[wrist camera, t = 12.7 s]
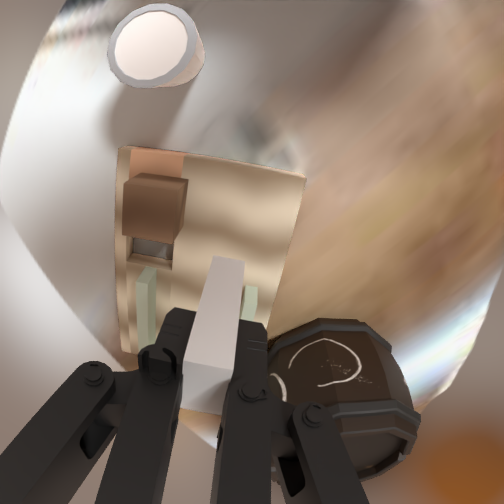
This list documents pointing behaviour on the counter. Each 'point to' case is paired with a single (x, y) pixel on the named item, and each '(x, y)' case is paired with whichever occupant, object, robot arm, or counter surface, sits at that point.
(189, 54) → the shot glass
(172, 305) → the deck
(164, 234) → the block
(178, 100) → the counter surface
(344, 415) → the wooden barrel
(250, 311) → the cubby
